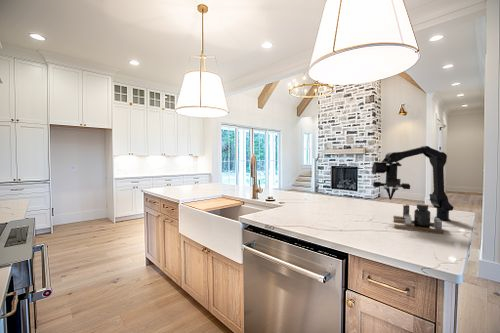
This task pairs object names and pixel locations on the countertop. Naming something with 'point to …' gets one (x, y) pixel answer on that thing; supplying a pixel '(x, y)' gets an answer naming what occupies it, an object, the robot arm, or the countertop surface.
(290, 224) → the countertop surface
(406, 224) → the bar
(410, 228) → the press base
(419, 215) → the supplement bottle
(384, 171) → the robot arm
